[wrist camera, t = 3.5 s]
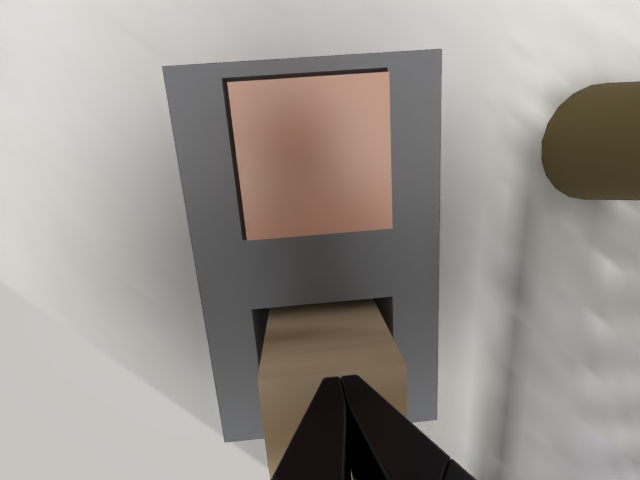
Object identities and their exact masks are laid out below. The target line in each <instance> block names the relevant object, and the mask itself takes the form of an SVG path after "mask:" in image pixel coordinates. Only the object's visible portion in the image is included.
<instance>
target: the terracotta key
mask: <svg viewBox="0 0 640 480" xmlns="http://www.w3.org/2000/svg"><path fill="white" fill-rule="evenodd" d="M227 85H228V93H229V101H230V109H231V117H232V125H233V133H234V141H235V149H236V157H237V165H238V173H239V181H240V188H241V196H242V204H243V212H244V220H245V228H246V236H247V241H249V240H261V239H273V238H285V237H297V236H309V235H321V234H333V233H345V232H357V231H369V230H381V229H392V228H393V226H392V178H391V130H390V82H389V72H376V73H360V74H345V75H330V76H314V77H299V78H284V79H268V80H253V81H237V82H227Z"/></svg>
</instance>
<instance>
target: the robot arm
mask: <svg viewBox="0 0 640 480" xmlns="http://www.w3.org/2000/svg"><path fill="white" fill-rule="evenodd" d="M351 473H352V477H351ZM352 479H353V480H476V479H475V478H474V477H473V476H471V475H470V474H469V473H468V472H467V471H466V470H464V469H463V468H462V467H461V466H460V465H459V464H458V463H457V462H455V461H454V460H453V459H451V458H450V456H449V455H447V454H446V453H445V452H444V451H443V450H442V449H441V448H440V447H438V446H437V445H436V444H435V443H434V442H433V441H432V440H431V439H429V438H428V437H427V436H426V435H425V434H424V433H423V432H422V431H420V430H419V429H418V428H417V427H416V426H415V425H414V424H413V423H411V422H410V421H409V420H408V419H407V418H406V417H405V416H404V415H402V414H401V413H400V412H399V411H398V410H397V409H396V408H395V407H393V406H392V405H391V404H390V403H389V402H388V401H387V400H386V399H384V398H383V397H382V396H381V395H380V394H379V393H378V392H377V391H375V390H374V389H373V388H372V387H371V386H370V385H369V384H368V383H366V382H365V381H364V380H363V379H362V378H361V377H360V376H358V375H346V376H342V377H341V379H340V377H338V376H336V377H325V378H323V380H322V381H321V383H320V385H319V387H318V389H317V391H316V393H315V395H314V397H313V399H312V401H311V403H310V404H309V406H308V408H307V410H306V412H305V414H304V416H303V418H302V420H301V422H300V424H299V426H298V428H297V430H296V431H295V433H294V435H293V437H292V439H291V441H290V443H289V445H288V447H287V449H286V451H285V453H284V455H283V456H282V458H281V460H280V462H279V464H278V466H277V468H276V470H275V472H274V474H273V476H272V479H271V480H352Z"/></svg>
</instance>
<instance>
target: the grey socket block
mask: <svg viewBox="0 0 640 480" xmlns="http://www.w3.org/2000/svg"><path fill="white" fill-rule="evenodd" d="M162 69H163V75H164V81H165V87H166V93H167V99H168V105H169V111H170V117H171V123H172V129H173V135H174V141H175V147H176V153H177V159H178V165H179V171H180V177H181V183H182V189H183V195H184V201H185V207H186V213H187V219H188V225H189V231H190V237H191V243H192V249H193V255H194V261H195V267H196V273H197V279H198V285H199V291H200V297H201V303H202V309H203V315H204V321H205V327H206V333H207V339H208V345H209V351H210V357H211V363H212V369H213V375H214V381H215V387H216V393H217V399H218V405H219V411H220V417H221V423H222V429H223V435H224V441H225V442H233V441H243V440H252V439H261V438H265V435H264V428H263V420H262V413H261V405H260V397H259V390H258V382H257V378H258V372H259V366H260V361H261V355H262V349H263V343H264V337H265V332H266V326H267V320H268V313H267V308H273V307H284V306H295V305H306V304H317V303H328V302H338V301H349V300H360V299H371V298H373V300H374V301H375V303H376V305H377V307H378V309H379V311H380V313H381V315H382V317H383V319H384V321H385V323H386V325H387V327H388V329H389V331H390V333H391V335H392V337H393V339H394V341H395V343H396V345H397V347H398V349H399V351H400V353H401V355H402V357H403V359H404V361H405V363H406V365H407V419H408V420H409V421H410V422H420V421H430V420H437V387H438V309H439V231H440V153H441V75H442V49H430V50H414V51H398V52H383V53H367V54H351V55H335V56H319V57H303V58H287V59H271V60H255V61H239V62H223V63H207V64H191V65H175V66H162ZM376 72H389V82H390V130H391V178H392V226H393V228H392V229H381V230H369V231H357V232H345V233H333V234H321V235H309V236H297V237H285V238H273V239H261V240H249V241H247V236H246V228H245V220H244V212H243V204H242V196H241V188H240V181H239V173H238V165H237V157H236V149H235V141H234V133H233V125H232V117H231V109H230V101H229V93H228V85H227V82H237V81H253V80H268V79H284V78H299V77H314V76H330V75H345V74H360V73H376Z"/></svg>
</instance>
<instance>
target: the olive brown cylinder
mask: <svg viewBox="0 0 640 480" xmlns="http://www.w3.org/2000/svg"><path fill="white" fill-rule="evenodd" d="M542 162H543V166H544V169H545V172H546V176H547V177H548V178H549V180H550V181H551V183H552V184H553V185H554V187H555V188H556V189H558V190H559V191H561V192H562V193H564V194H566V195H567V196H569V197H574V198H579V199H584V200H640V82H620V83H605V84H597V85H591V86H589V87H586V88H584V89H582V90H580V91H578V92H576V93H574V94H573V95H572V96H570V97H569V98H568V99H567V100H566V101H565V102H564V103H563V104H562V105H560V106H559V108H558V109H557V111H556V112H555V114H554V115H553V117H552V118H551V120H550V121H549V123H548V125H547V129H546V132H545V135H544V138H543V141H542Z"/></svg>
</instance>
